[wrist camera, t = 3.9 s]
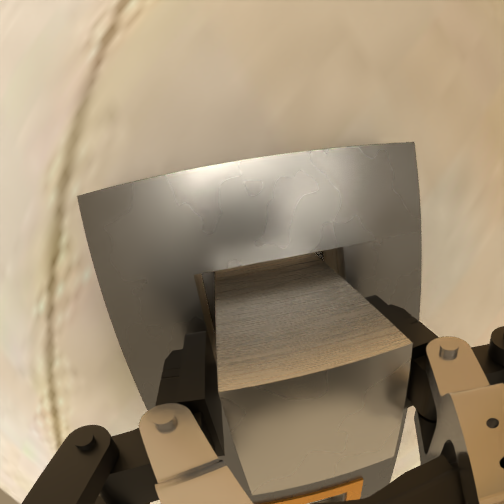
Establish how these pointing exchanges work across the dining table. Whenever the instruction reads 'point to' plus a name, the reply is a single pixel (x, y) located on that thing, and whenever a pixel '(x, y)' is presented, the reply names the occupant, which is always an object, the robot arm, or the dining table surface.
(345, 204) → the grey board with holes
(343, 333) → the grey square peg
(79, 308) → the dining table surface
